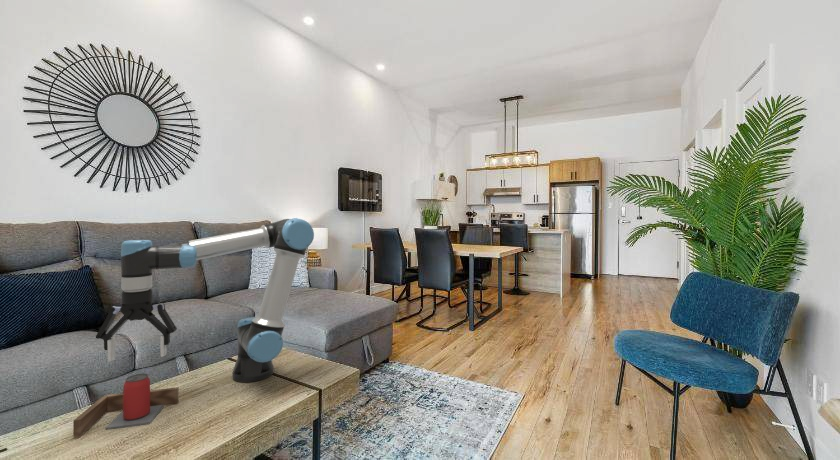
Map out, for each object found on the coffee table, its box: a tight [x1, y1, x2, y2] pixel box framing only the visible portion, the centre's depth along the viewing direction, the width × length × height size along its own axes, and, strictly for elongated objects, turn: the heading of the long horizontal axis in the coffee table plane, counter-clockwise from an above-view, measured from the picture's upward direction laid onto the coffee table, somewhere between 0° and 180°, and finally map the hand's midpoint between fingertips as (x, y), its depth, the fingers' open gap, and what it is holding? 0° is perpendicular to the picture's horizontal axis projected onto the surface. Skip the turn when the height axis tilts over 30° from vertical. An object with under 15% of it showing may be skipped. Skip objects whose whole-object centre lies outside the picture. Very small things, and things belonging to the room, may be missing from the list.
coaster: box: [105, 405, 165, 431], centre depth 111 cm, size 11×11×1 cm
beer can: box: [122, 373, 151, 420], centre depth 111 cm, size 7×7×12 cm
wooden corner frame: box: [72, 386, 180, 439], centre depth 110 cm, size 21×16×5 cm
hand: (138, 357), depth 111 cm, fingers open, 13 cm apart
